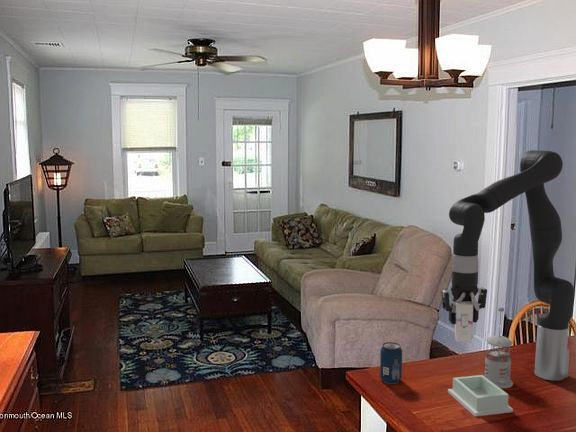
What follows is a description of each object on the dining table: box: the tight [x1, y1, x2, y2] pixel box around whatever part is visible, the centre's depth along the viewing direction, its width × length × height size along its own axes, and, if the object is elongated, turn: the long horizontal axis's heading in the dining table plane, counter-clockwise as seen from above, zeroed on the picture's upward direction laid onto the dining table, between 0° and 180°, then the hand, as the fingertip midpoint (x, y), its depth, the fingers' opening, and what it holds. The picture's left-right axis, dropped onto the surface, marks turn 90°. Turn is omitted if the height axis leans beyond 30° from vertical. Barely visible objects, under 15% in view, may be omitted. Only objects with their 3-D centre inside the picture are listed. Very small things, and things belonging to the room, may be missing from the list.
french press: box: [483, 306, 514, 389], centre depth 187 cm, size 10×12×25 cm
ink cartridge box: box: [454, 291, 474, 343], centre depth 175 cm, size 9×5×15 cm, turn 167°
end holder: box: [447, 374, 514, 417], centre depth 174 cm, size 12×16×5 cm
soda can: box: [379, 341, 403, 385], centre depth 188 cm, size 7×7×12 cm
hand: (463, 322), depth 176 cm, fingers closed on ink cartridge box, 6 cm apart
